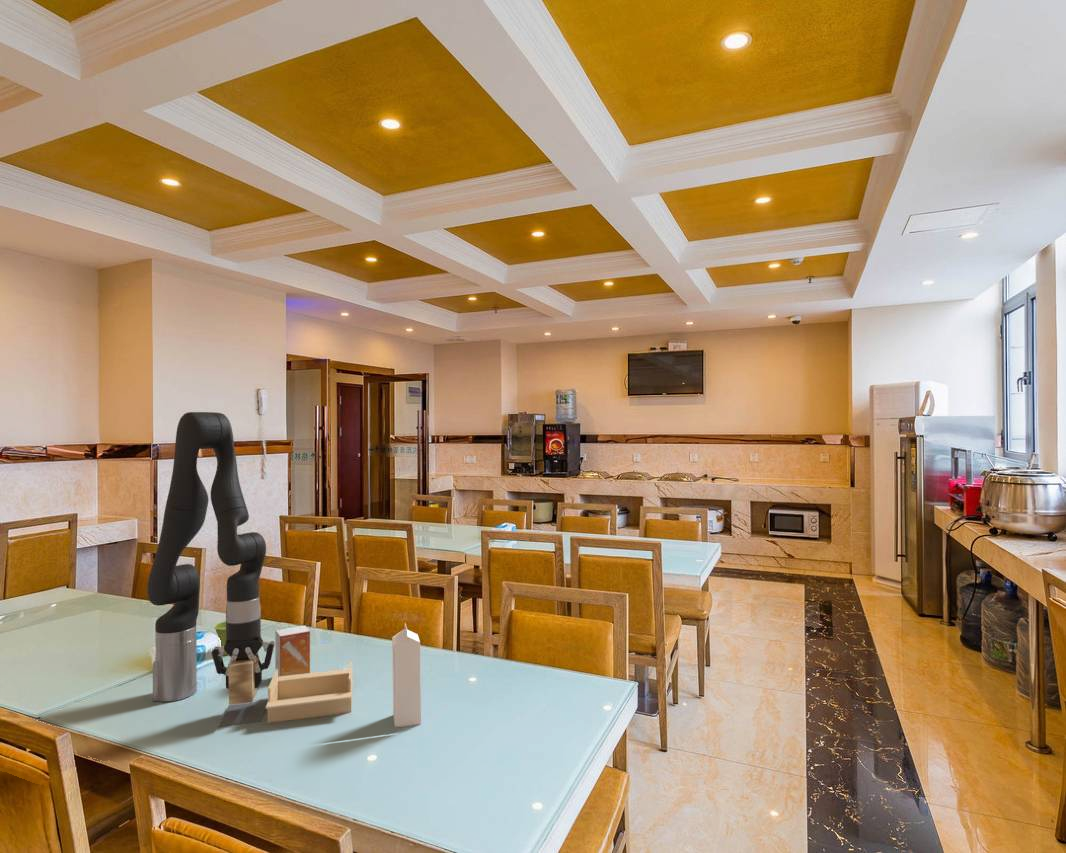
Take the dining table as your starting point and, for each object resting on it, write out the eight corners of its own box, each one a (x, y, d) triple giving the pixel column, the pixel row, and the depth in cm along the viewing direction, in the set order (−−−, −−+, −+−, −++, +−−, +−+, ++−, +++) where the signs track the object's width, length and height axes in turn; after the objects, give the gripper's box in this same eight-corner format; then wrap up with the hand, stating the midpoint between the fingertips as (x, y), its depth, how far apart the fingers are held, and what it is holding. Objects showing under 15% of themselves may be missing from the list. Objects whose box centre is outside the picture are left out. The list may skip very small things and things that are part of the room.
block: (228, 705, 140) (228, 666, 140) (236, 691, 148) (235, 654, 148) (252, 702, 142) (251, 663, 142) (258, 688, 149) (258, 651, 149)
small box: (279, 684, 162) (279, 636, 163) (275, 677, 168) (274, 630, 168) (310, 677, 167) (310, 630, 167) (305, 670, 172) (305, 624, 172)
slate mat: (218, 728, 138) (218, 725, 138) (228, 707, 149) (228, 705, 149) (260, 723, 141) (260, 720, 141) (268, 703, 151) (268, 700, 151)
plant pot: (238, 657, 183) (238, 628, 183) (208, 657, 183) (208, 628, 183) (253, 646, 193) (253, 619, 193) (224, 646, 193) (224, 619, 193)
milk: (394, 728, 137) (392, 631, 138) (393, 716, 143) (391, 623, 143) (421, 724, 139) (420, 628, 139) (419, 712, 145) (417, 620, 145)
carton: (265, 729, 138) (265, 694, 138) (277, 696, 155) (277, 664, 155) (350, 718, 143) (350, 684, 143) (353, 687, 160) (352, 657, 160)
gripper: (206, 624, 140) (207, 698, 139) (273, 618, 143) (273, 690, 143) (214, 615, 147) (215, 686, 147) (277, 610, 151) (278, 678, 150)
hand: (244, 688), depth 145 cm, fingers closed on block, 5 cm apart
